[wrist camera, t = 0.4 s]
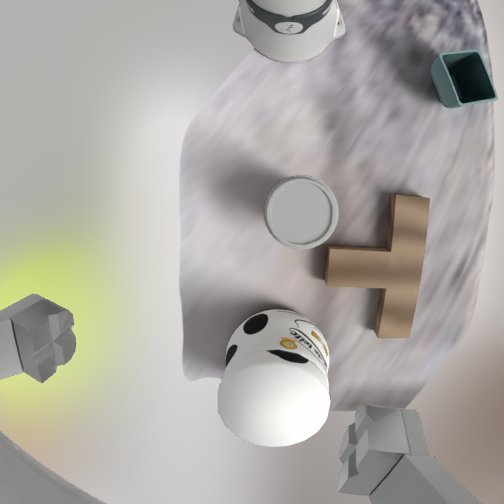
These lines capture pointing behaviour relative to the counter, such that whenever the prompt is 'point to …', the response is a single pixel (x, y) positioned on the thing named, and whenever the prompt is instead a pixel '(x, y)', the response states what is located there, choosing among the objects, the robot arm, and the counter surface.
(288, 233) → the disposable coffee cup
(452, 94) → the flower pot
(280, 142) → the counter surface
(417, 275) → the walnut T block
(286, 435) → the milk container
